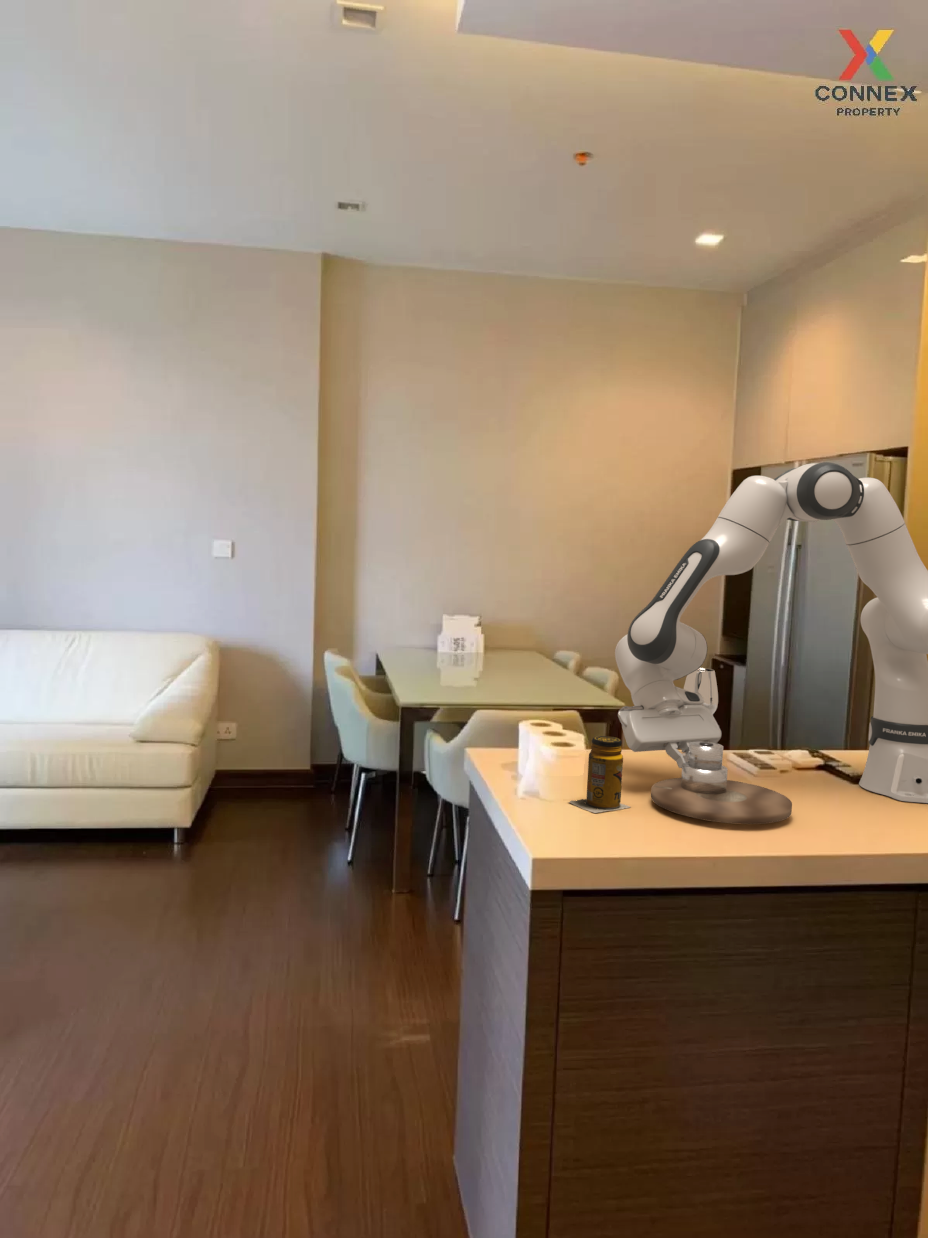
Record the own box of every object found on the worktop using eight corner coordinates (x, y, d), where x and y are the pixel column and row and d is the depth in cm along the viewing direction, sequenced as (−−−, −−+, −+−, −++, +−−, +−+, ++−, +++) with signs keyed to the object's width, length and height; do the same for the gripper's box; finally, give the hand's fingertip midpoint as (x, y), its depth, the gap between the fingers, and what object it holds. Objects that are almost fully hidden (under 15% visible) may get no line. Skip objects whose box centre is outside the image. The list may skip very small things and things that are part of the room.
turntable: (791, 795, 164) (792, 787, 164) (791, 832, 141) (792, 823, 141) (660, 779, 172) (661, 771, 172) (641, 811, 150) (641, 802, 150)
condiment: (630, 807, 156) (634, 741, 155) (594, 814, 151) (598, 745, 150) (602, 797, 162) (606, 733, 161) (567, 803, 157) (570, 736, 156)
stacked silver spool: (727, 785, 163) (730, 741, 163) (724, 796, 156) (727, 750, 155) (683, 780, 166) (686, 736, 165) (678, 790, 158) (681, 744, 158)
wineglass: (671, 754, 200) (677, 667, 198) (701, 753, 202) (707, 667, 200) (690, 762, 192) (696, 672, 191) (721, 761, 194) (727, 671, 193)
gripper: (622, 697, 166) (650, 760, 158) (708, 694, 175) (739, 754, 167) (607, 716, 171) (634, 778, 163) (692, 712, 179) (721, 771, 171)
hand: (688, 766), depth 165 cm, fingers closed, pressing on stacked silver spool
